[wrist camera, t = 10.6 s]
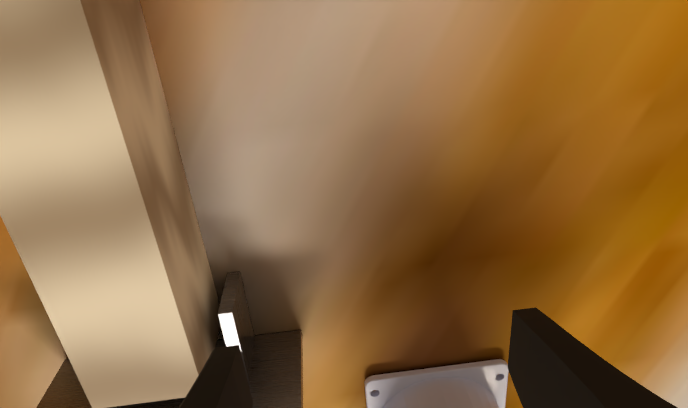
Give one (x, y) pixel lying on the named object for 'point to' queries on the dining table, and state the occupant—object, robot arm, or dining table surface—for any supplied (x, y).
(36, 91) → the rail
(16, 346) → the dining table surface
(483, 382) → the robot arm
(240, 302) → the bracket
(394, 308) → the dining table surface
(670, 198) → the dining table surface
